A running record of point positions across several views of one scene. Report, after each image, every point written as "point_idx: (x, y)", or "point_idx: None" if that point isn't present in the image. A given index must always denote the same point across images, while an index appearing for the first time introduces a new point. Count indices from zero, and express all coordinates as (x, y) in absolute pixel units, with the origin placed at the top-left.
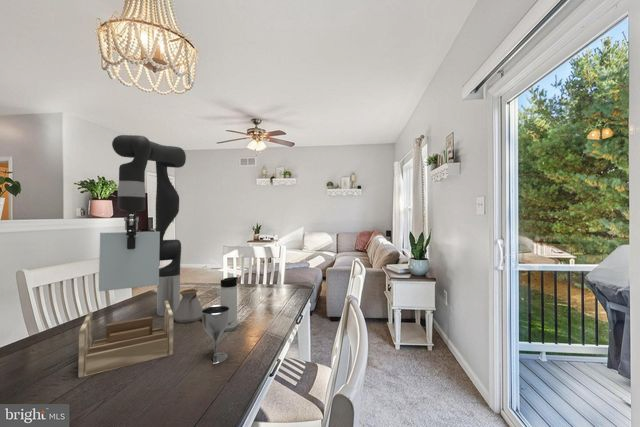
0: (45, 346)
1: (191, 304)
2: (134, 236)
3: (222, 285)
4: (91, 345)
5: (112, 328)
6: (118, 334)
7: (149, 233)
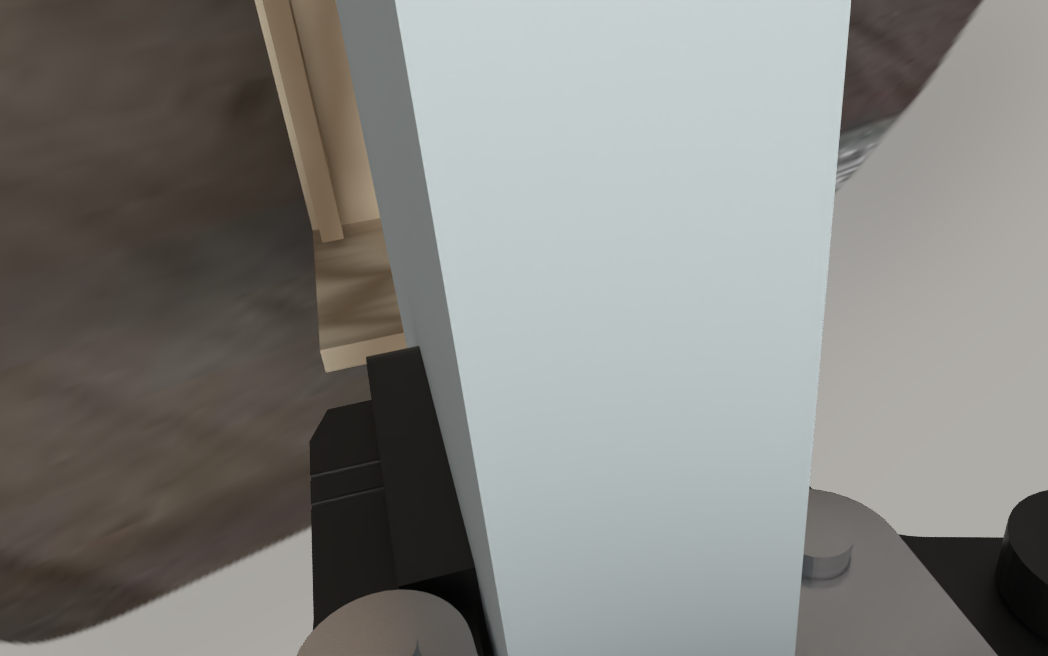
0: (85, 495)
1: None
2: (856, 537)
3: None
4: (342, 239)
5: None
6: None
7: (782, 1)
